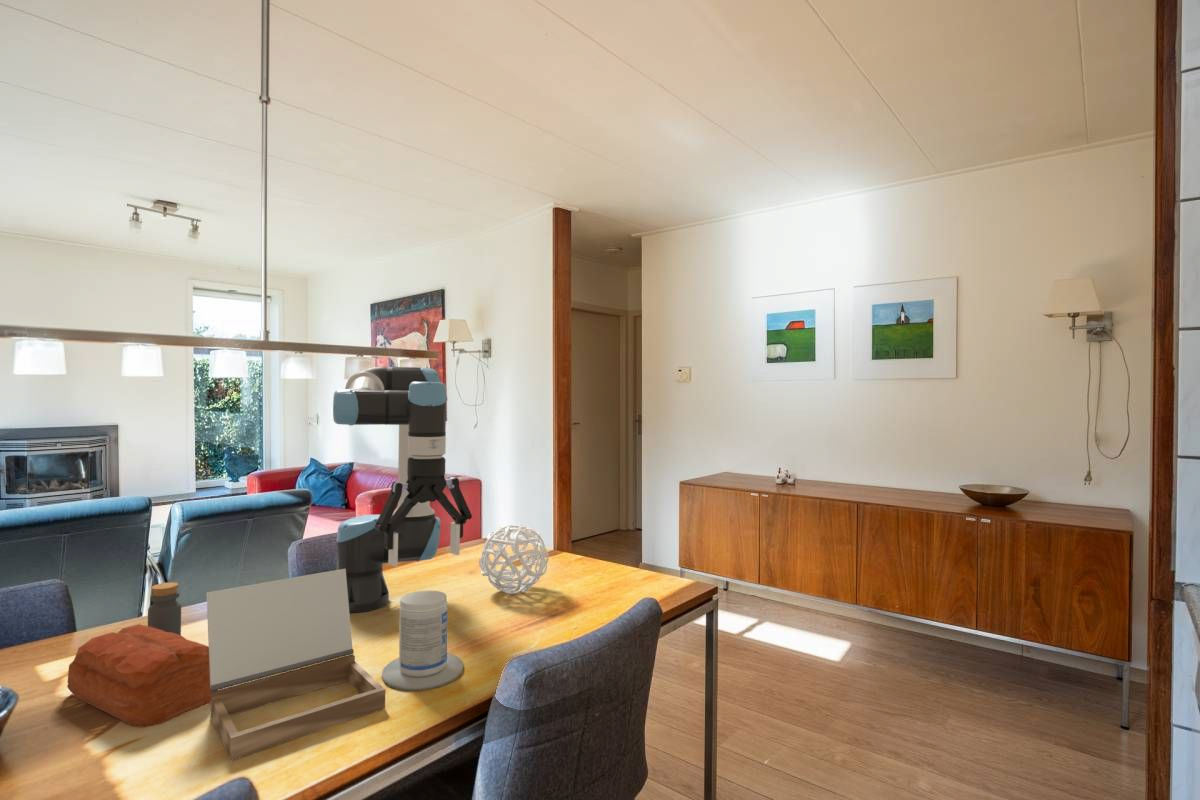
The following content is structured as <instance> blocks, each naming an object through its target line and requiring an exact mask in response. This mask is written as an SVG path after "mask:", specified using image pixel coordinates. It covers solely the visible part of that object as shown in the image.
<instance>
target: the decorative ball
mask: <svg viewBox="0 0 1200 800" xmlns="http://www.w3.org/2000/svg"><path fill="white" fill-rule="evenodd" d="M512 533H513V534H514V536H513V538H511V534H512ZM519 535H522V536H519ZM499 538H502V539H499ZM529 543H530V544H531V545H532V546H533V549H527V547H528V545H529ZM495 545H496V546H497V549H494V547H495ZM508 545H510V548H511V551H512V552H513V554H511V556H509V553H508V552H507V550H506V548H508V547H507V546H508ZM519 546H522V548H521V549H520V547H519ZM539 548H540V550H539ZM491 554H492V555H493V556H494V557H493V559H492V560H491V558H490V555H491ZM524 556H525V557H524ZM501 557H502V558H503V560H499V559H500V558H501ZM528 558H529V559H528ZM549 559H550V557H549V552H548V549H546V546H545V542H544V540H543V538H542V537H541V533H539V532H538V531H536V530H535V529H534V528H531V527H527V526H525V525H522V524H514V525H512V524H511V525H501V526H500V527H499V528H498V529H497V530H495V531H493V532H490V533H488V535H487V536H486V541H485V543H484V545H483V547H482V551H481V556H480V558H479V560H478V563H479V567H480V570H481V571H480V573H481V575H482V576H483V577H486V576H487V577H488V578H487V580H488V582H489V583H490V584H491V585H492V586H493V587H494V588H495V589H497V590H499V591H500V592H502V593H504V594H507V595H516V594H519V593H523V594H524V593H526V592H528V591H529V589H530V587H533V586H534V585H535V584H536V583H537V582H538V581H539V580H540V578H541V576H544V575H545V574H546V572H547V571H548V565H547V564H548V562H549ZM516 560H518V561H519V562H520V564H521V566H522V567H521V569H518V567H517V566H516V565H515V564H513V562H515V561H516ZM498 565H501V567H500V569H497V568H496V566H498ZM489 566H490V567H489ZM533 566H534V571H535V572H534V571H533V570H532V568H533ZM507 567H509V569H506V568H507ZM515 576H516V577H515ZM527 576H530V577H528V578H527ZM525 578H527V579H525ZM524 579H525V580H524Z"/></svg>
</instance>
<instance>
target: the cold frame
mask: <svg viewBox="0 0 1200 800" xmlns="http://www.w3.org/2000/svg"><path fill="white" fill-rule="evenodd" d="M347 681H348V682H349V683H350V684H351V685H352V686H354V688H356V689H357V691H358V692H359V694H356V695H352V696H350V697H347V698H343V699H340V700H337V701H334V702H331V703H330V702H329V703H327V704H324V705H321V706H317V707H315V708H311V709H308V710H306V711H305V710H304V711H302V712H298V713H295V714H292V715H288V716H285V717H282V718H279V719H275V720H273V721H270V722H269V721H268V722H266V723H263V724H259V725H257V726H254V727H250V728H247V729H244V730H241V731H238V729H237V728H236V725H235V724H234V722H233V719H232V718H231V715H236V714H238V713H243V712H246V711H249V710H251V709H256V708H259V707H263V706H266V705H269V704H273V703H277V702H279V701H283V700H286V699H289V698H290V699H291V698H293V697H296V696H300V695H303V694H306V693H307V694H308V693H311V692H314V691H317V690H320V689H324V688H327V687H330V686H334V685H337V684H338V685H339V684H341V683H344V682H347ZM385 709H386V688H385V687H384V686H382V685H381V684H380V683H379V682H378V681H377V680H376V679H375V678H374V677H373V676H372V675H370V673H368V672H367V671H366V670H365V669H364V668H363V667H362V666H361V665H360V664H359V663H358V662H357V661H356V655H354V653H353V654H350V655H347V656H343V657H339V658H336V659H332V660H328V661H324V662H321V663H317V664H313V665H309V666H306V667H302V668H298V669H294V670H291V671H287V672H283V673H279V674H276V675H272V676H268V677H264V678H261V679H257V680H253V681H249V682H246V683H242V684H238V685H234V686H231V687H227V688H223V689H219V690H217V691H213V692H211V702H210V720H211V722H212V723H213V726H214V729H216V732H217V734H218V737H219V740H220V742H221V743H222V745H223V748H224V750H225V752H226V754H227V756H228V758H230V759H229V760H230V761H231V760H232V761H235V760H236V758H237V759H240V758H244V757H246V756H249V755H252V754H254V753H258V752H261V751H263V750H267V749H270V748H272V747H276V746H278V745H281V744H284V743H287V742H291V741H293V740H296V739H299V738H302V737H305V736H309V735H312V734H314V733H317V732H319V731H323V730H326V729H328V728H332V727H335V726H338V725H340V724H344V723H346V722H349V721H352V720H355V719H359V718H361V717H364V716H368V715H370V714H373V713H376V712H379V711H382V710H385ZM239 757H240V758H239Z"/></svg>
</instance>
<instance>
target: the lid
mask: <svg viewBox="0 0 1200 800" xmlns="http://www.w3.org/2000/svg"><path fill="white" fill-rule="evenodd" d="M206 612H207V614H206V616H207V635H208V636H207V637H208V638H207V639H208V641H207V642H208V647H209V668H210V688H211V692H212V691H216V690H221V689H224V688H228V687H232V686H236V685H239V684H243V683H247V682H251V681H254V680H258V679H262V678H265V677H269V676H273V675H277V674H280V673H284V672H288V671H292V670H295V669H299V668H303V667H307V666H310V665H314V664H318V663H322V662H325V661H329V660H333V659H337V658H340V657H344V656H348V655H352V654H353V655H354V652H355V651H354V648H353V640H352V639H353V638H352V628H351V626H352V625H351V616H350V612H349V602H348V591H347V579H346V568H345V569H340V570H337V569H336V570H329V571H322V572H317V573H312V574H306V575H300V576H296V577H295V576H294V577H288V578H283V579H282V578H281V579H276V580H272V581H271V580H270V581H265V582H260V583H252V584H249V585H248V584H247V585H242V586H237V587H230V588H225V589H219V590H213V591H207V592H206Z"/></svg>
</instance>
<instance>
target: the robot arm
mask: <svg viewBox="0 0 1200 800" xmlns="http://www.w3.org/2000/svg"><path fill="white" fill-rule="evenodd" d="M440 381H441V380H440V377H439V373H438V372H437V370H435V369H433V368H429V367H422V366H421V367H411V366H410V367H408V366H407V367H406V366H405V367H404V366H376V367H375V366H374V367H370V368H366V369H363V370H360V371H357V372H355V373H354V374H353V375H351V376H350V377H349V379H348V380H347V382H346V384H345V389H337V390H335V391H334V393H333V397H332V398H333V401H332V418H333V422H334V423H335V424H337V425H342V426H343V425H346V426H347V425H348V426H364V425H369V426H370V425H375V426H376V425H378V426H379V425H381V426H382V425H386V426H387V425H388V426H389V425H390V426H392V425H394V426H395V425H396V426H398V459H397V461H398V462H397V463H398V464H397V465H398V467H397V468H398V469H397V471H398V473H397V474H398V475H397V481H393V482H391V488H390V493H389V496H388V498H387V500H386V502H385V503H384V506H383V508H382V510H381V512H380V514H365V515H360V516H355V517H351V518H349V519H346V520H344V521H342V522H341V523H340V524H339V525H338V528H337V535H336V536H337V537H336V539H335V540H336V543H337V545H336V547H337V548H336V551H337V553H336V570H340V569H345V568H346V579H347V591H348V602H349V613H362V612H368V611H371V610H377V609H379V608H382V607H383V606H385V605H386V604H388V602H389V601H390V593H389V592H390V591H389V588H388V585H387V582H386V580H385V577H384V573H383V572H384V570H383V568H384V567H383V565H384V564H388V565H390V566H392V567H393V568H394V567H398V566H399V563H405V562H406V563H408V562H418V563H419V562H420V561H421V562H422V561H427V560H432V559H433V558H434V557H436V554H437V552H438V549H439V543H440V537H441V536H440V535H441V519H440V517H437V516H436V511H435V509H433V508H432V507H431V505H430V504H431V503H432V502H433V503H435V502H436V501H437V502H438V503H439V504H440V506H442V508H443V509H444V510H445V511H446V512H447V514H448V515H449V516H450V517H451V518H452V520H453V521H452V522H450V536H449V537H450V541H449V543H450V544H449V545H450V546H449V553H450V554H451V555H454V556H460V550H461V549H460V546H461V545H460V542H461V539H462V538H463V537H464V525H466V523H467V520H471V519H472V518H473V515H472V512H471V511H470V508H469V506H468V503H467V502H466V499H465V497H464V495H463V492H462V490H461V487H460V480H459V478H457V477H454V476H449V477H448V478H446V477H445V475H446V458H445V457H444V455H446V448H447V447H446V444H447V443H446V441H447V440H446V439H447V436H446V433H447V432H446V427H447V425H446V424H447V402H448V396H447V385H446V383H445V382H442V381H441V382H440ZM446 487H447V489H449V491H450V495H451V497H452V498H453V501H454V503H455V505H456V507H457V508H456V507H455V506H454V505H453V504H452V503H451V501H450V500H449V498H448V497H447V495H446V494H445V493H444V489H445V488H446ZM430 502H431V503H430ZM457 509H458V510H457Z"/></svg>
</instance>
